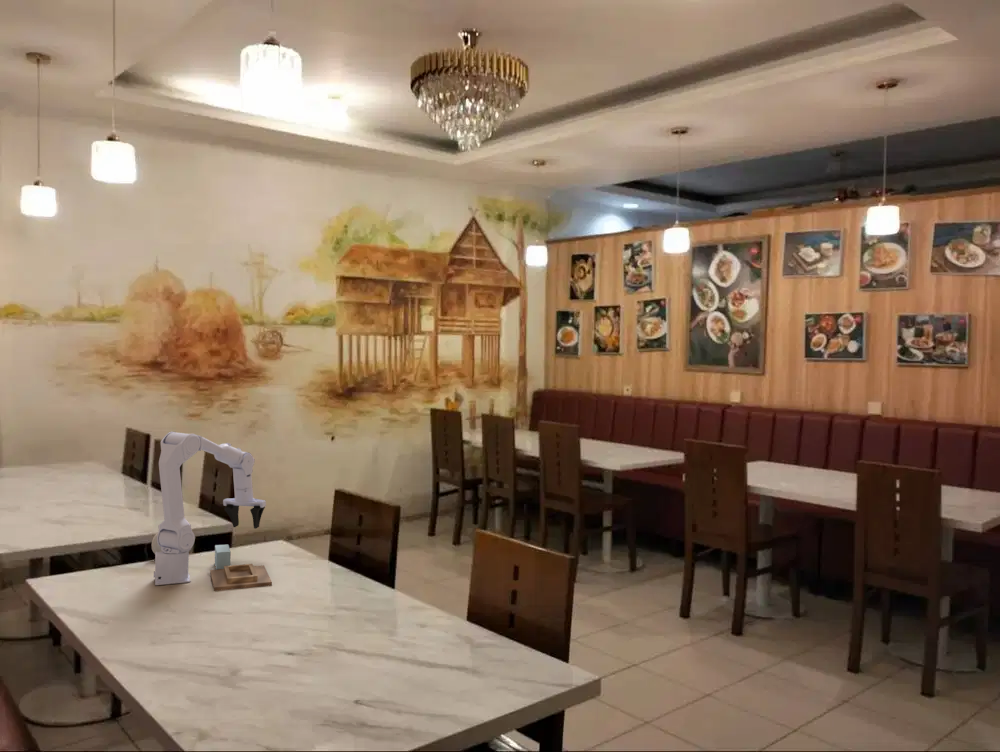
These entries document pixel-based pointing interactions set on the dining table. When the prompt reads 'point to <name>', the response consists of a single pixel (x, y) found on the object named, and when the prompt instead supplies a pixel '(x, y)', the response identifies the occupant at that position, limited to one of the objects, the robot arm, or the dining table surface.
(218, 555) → the tall light blue prism
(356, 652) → the dining table surface
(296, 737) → the dining table surface
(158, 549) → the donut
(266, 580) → the cradle
